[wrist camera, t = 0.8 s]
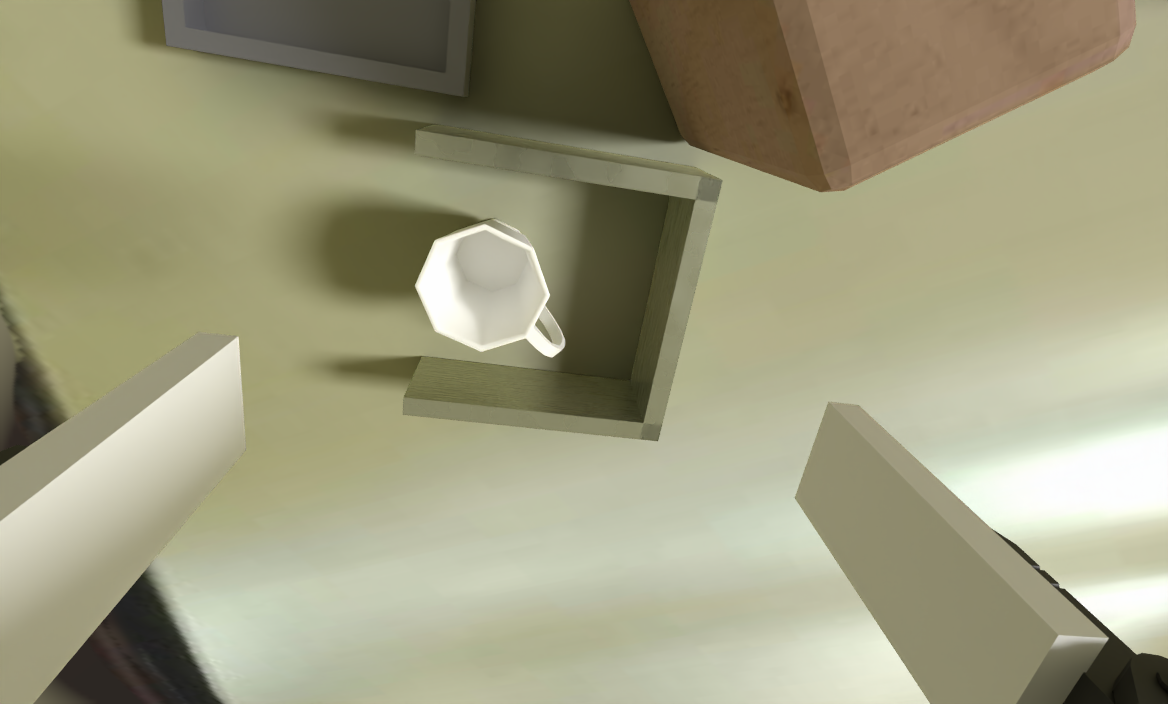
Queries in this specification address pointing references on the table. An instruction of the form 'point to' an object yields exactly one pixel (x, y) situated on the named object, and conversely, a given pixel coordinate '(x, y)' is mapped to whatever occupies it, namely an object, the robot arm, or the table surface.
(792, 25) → the wooden block
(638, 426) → the bay
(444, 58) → the tray
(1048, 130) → the table surface
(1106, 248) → the table surface
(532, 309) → the cup
